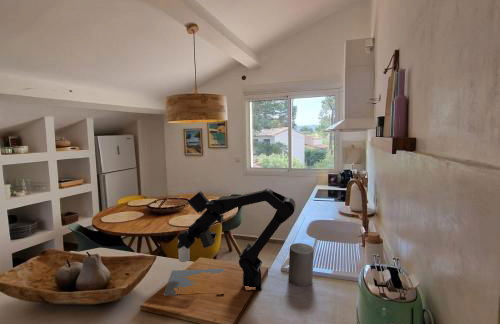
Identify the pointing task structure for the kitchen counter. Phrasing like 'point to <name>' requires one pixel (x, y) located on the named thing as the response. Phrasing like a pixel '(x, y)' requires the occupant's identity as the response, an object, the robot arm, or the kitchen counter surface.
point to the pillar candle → (301, 264)
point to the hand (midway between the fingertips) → (180, 245)
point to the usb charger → (184, 254)
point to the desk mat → (184, 279)
